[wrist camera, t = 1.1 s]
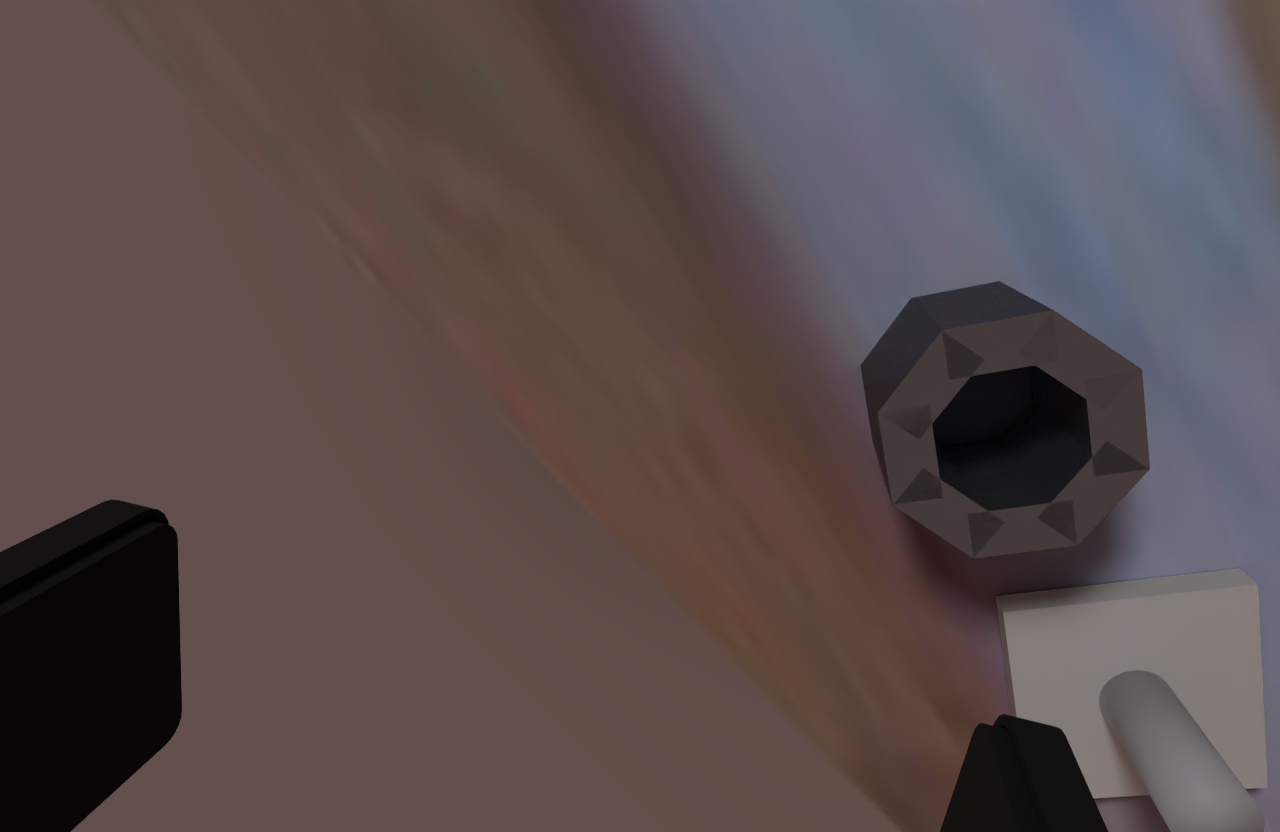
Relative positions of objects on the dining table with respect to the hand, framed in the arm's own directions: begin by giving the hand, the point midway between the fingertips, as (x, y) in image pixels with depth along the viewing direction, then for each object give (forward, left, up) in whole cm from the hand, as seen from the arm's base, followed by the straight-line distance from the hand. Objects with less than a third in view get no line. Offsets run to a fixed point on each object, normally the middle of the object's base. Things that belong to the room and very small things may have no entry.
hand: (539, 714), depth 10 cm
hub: (-8, +3, -22) cm, 23 cm away
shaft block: (-12, +15, -22) cm, 29 cm away
